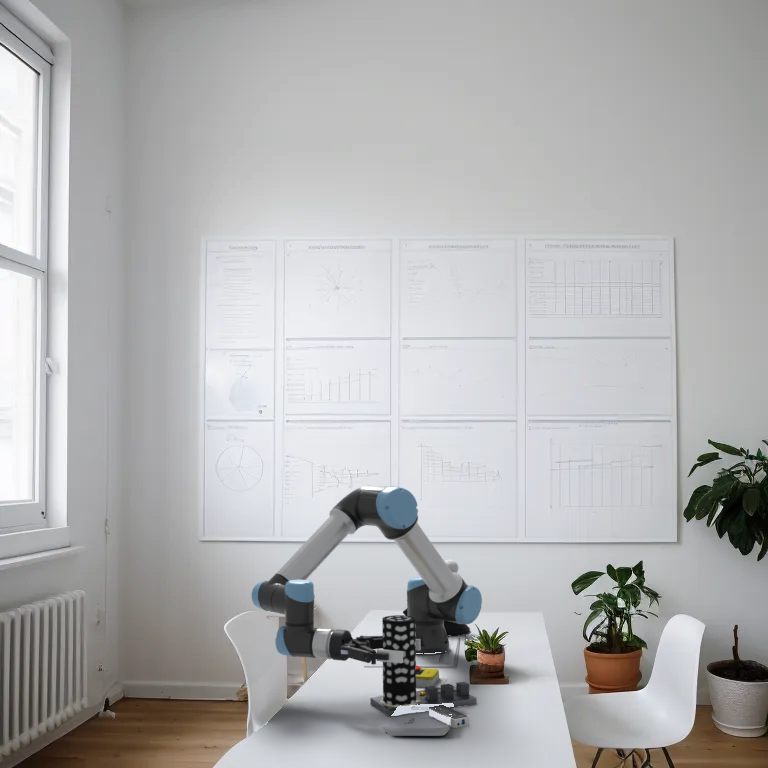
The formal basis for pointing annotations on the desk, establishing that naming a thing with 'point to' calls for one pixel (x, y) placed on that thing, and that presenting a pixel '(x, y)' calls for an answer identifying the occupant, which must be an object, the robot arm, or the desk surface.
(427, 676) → the emergency button
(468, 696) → the breaker board
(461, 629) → the sculpture
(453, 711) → the multiport hub
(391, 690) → the spotted tube
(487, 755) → the desk surface
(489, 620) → the desk surface
